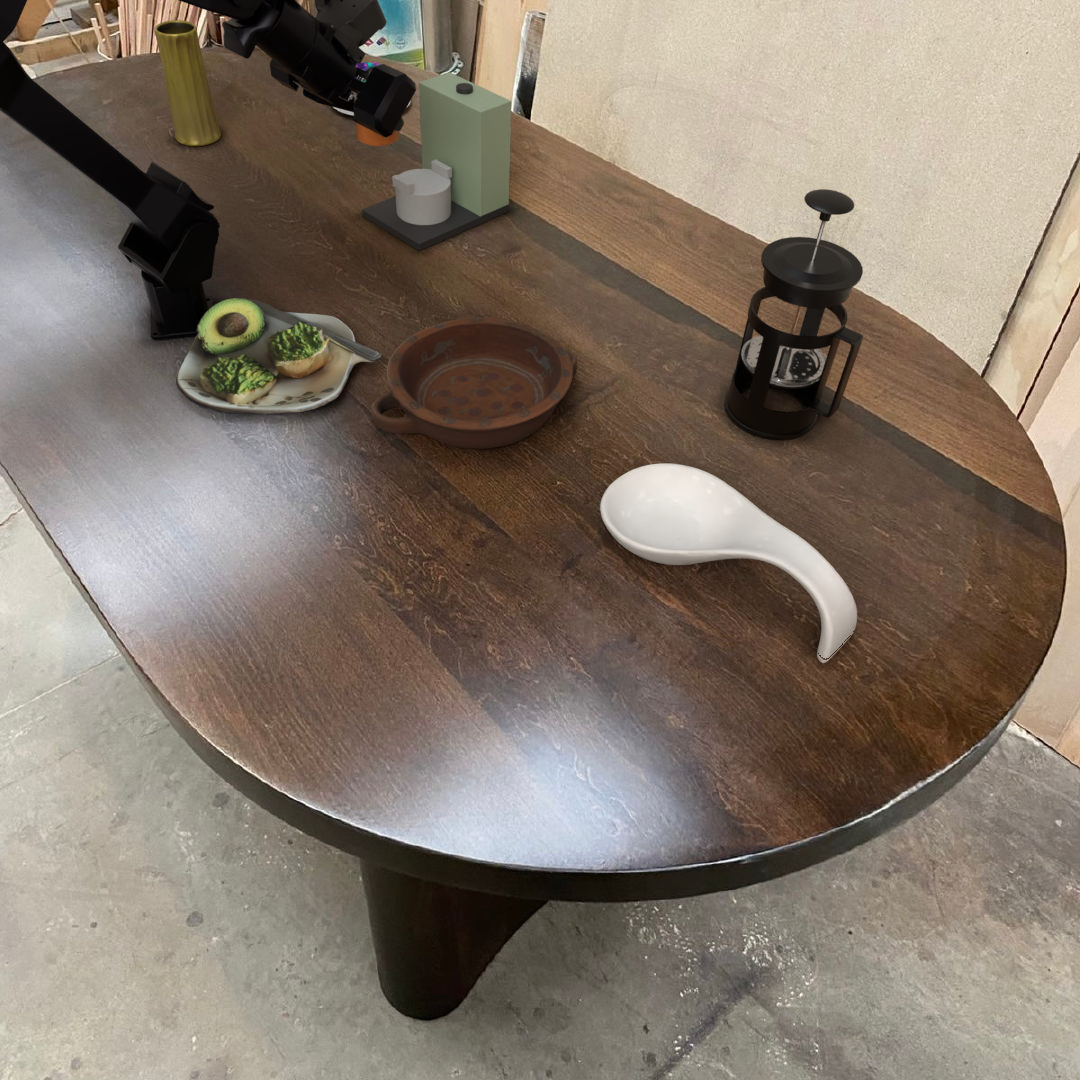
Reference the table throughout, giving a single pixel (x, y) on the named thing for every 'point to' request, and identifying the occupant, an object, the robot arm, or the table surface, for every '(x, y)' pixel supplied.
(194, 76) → the vase
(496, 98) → the coffee maker
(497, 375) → the dish
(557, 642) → the table surface
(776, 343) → the french press
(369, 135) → the coffee pod
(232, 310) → the avocado toast plate
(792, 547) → the spoon rest
